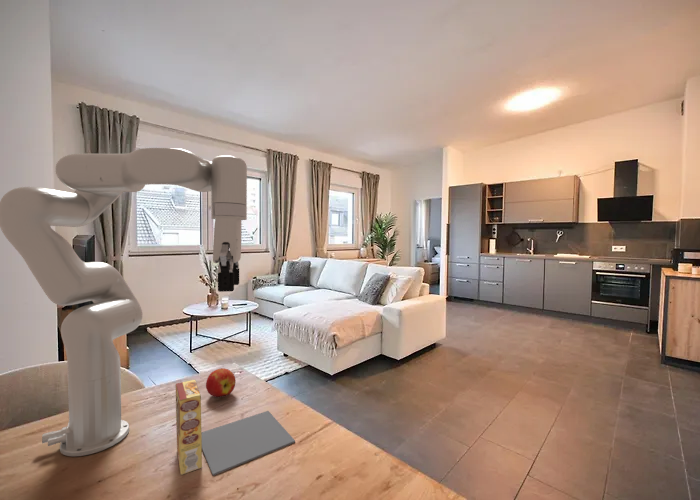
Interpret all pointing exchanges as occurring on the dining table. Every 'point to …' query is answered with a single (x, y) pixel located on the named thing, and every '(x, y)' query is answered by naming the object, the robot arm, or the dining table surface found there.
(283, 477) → the dining table surface
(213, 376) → the apple
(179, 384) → the candy box
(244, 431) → the slate mat
